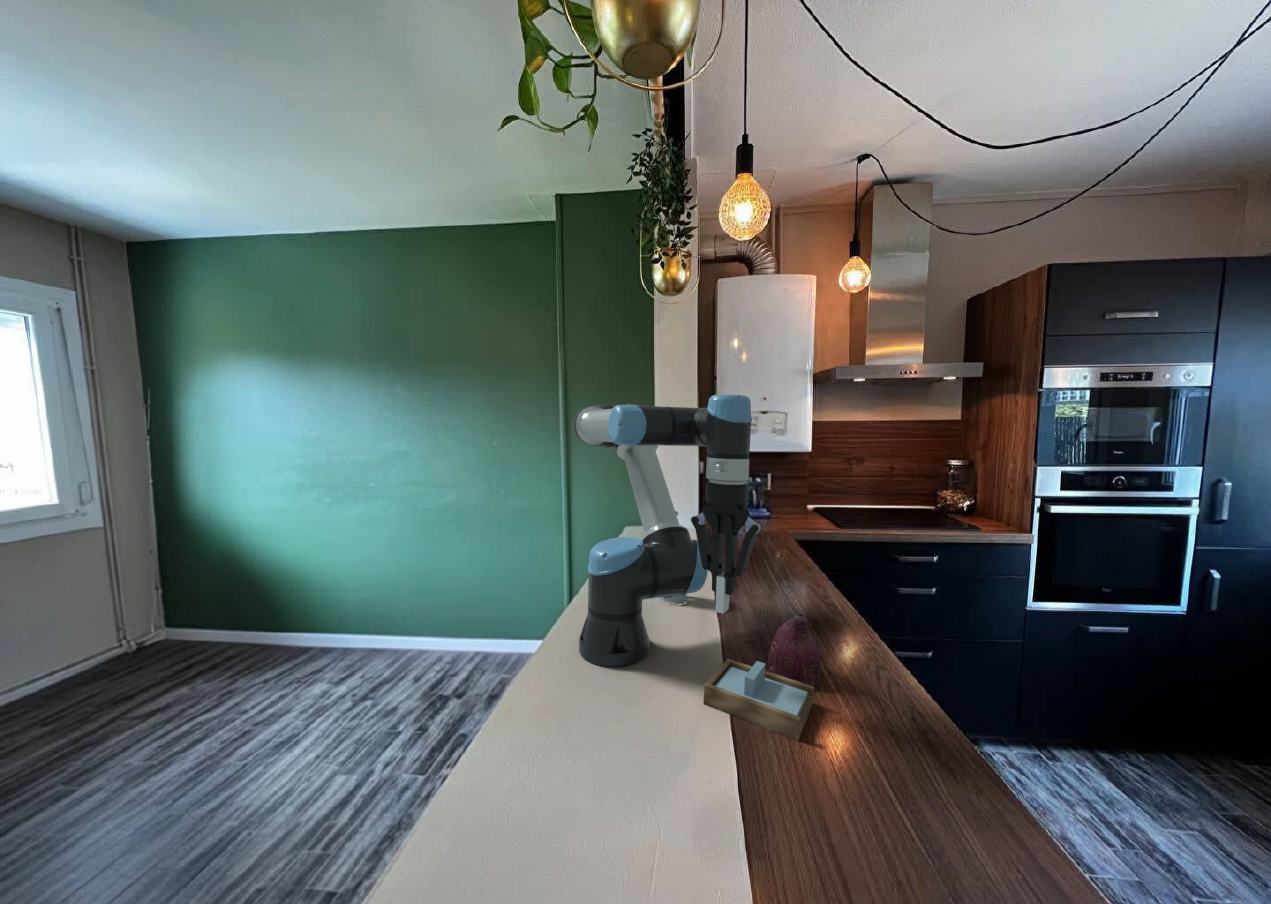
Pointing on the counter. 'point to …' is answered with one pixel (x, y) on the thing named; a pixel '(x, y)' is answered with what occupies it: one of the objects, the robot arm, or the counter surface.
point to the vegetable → (795, 652)
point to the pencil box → (758, 703)
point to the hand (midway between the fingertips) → (722, 610)
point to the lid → (763, 688)
